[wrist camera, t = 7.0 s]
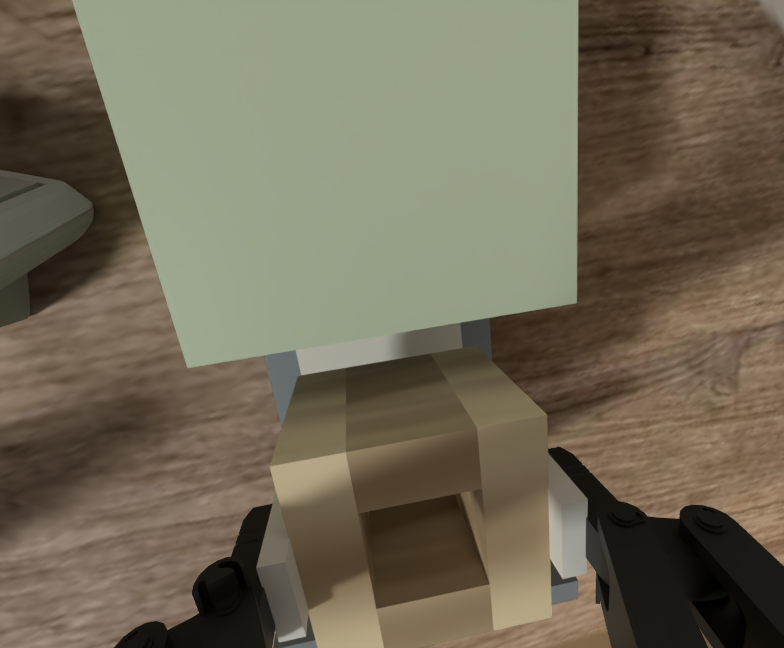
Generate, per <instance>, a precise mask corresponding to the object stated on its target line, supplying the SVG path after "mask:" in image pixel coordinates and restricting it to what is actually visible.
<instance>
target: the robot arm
mask: <svg viewBox="0 0 784 648" xmlns="http://www.w3.org/2000/svg"><path fill="white" fill-rule="evenodd" d="M548 472H549V486H548V502H549V543H550V559H551V561H552V562H553V564H554V566H555V567H556V569H557V571H558V572H559V574H560V576H561V577H562V579H565V578H570V577H574V576H579V575H583V574H587V559H588V561H589V562H590V564H591V565H592V566H593V568H594V569H595V571H596V603H597V604H600V602H601V606H602V610H603V614H604V618H605V622H606V626H607V630H608V635H609V639H610V643H611V647H612V648H708V646H707V644H706V642H705V640H704V638H703V635H702V633H703V634H704V636H705V637H706V638H707V640H708V641H709V643H710V644H711V646H712V647H713V648H784V566H783V565H782V564H781V563H780V562H779V561H778V560H777V559H775V558H774V557H773V556H772V555H771V554H770V553H769V552H768V551H767V550H766V549H765V548H764V547H763V546H762V545H761V544H759V543H758V542H757V541H756V540H755V539H754V538H753V537H752V536H751V535H750V534H749V533H748V532H747V531H746V530H745V529H744V528H742V527H741V526H740V525H739V524H738V523H737V522H736V521H735V520H734V519H732V518H731V517H729V516H728V515H727V514H725V513H723V512H721V511H719V510H717V509H715V508H711V507H707V506H703V505H689V506H686V507H684V508H683V509H682V510H681V511H680V517H679V519H671V518H656V517H649V516H646V514H645V513H644V512H642V511H641V510H640V509H638V508H637V507H635V506H633V505H631V504H628V503H625V502H620V501H618V500H617V499H616V498H615V497H614V496H613V495H612V494H611V493H610V492H609V491H608V490H607V489H606V488H605V487H604V486H603V485H602V484H601V483H600V482H599V481H598V480H597V479H596V478H595V476H594V475H593V474H592V473H590V472H589V470H588V469H587V468H586V467H585V466H584V465H582V463H581V462H580V461H579V460H578V459H577V458H576V457H575V456H574V455H573V454H572V453H570V452H568V451H566V450H565V449H563V448H561V447H556V448H551V449H548ZM192 595H193V598H194V600H195V603H196V606H197V608H198V611H199V614H197V615H196V616H194V617H192V618H191V619H189V620H187V621H185V622H183V623H181V624H179V625H177V626H175V627H173V628H171V629H169V630H167V628H166V627H165V625H164V623H161V622H158V621H154V622H148V623H145V624H143V625H141V626H139V627H137V628H135V629H133V630H132V631H131V632H130V633H128V634H127V635H126V636H124V637H123V638H122V639H121V640H120V642H119V643H118V644H117V645H116V646H115V647H114V648H272V644H273V638H274V632H275V631H276V634H277V638H278V641H279V642H284V641H288V640H293V639H297V638H302V637H306V632H307V621H308V611H309V610H308V606H307V603H306V599H305V595H304V591H303V587H302V584H301V580H300V576H299V572H298V569H297V565H296V561H295V557H294V553H293V550H292V546H291V542H290V538H288V534H287V530H286V527H285V523H284V519H283V515H282V512H281V508H280V504H279V500H278V496H277V493H275V497H274V500H273V504H270V505H265V506H260V507H255V508H253V509H252V510H251V511H250V513H249V514H248V515H247V516H246V518H245V519H244V520H243V523H242V526H241V529H240V532H239V536H238V538H237V541H236V546H235V547H234V550H233V552H232V555H231V557H226V558H223V559H221V560H218V561H216V562H215V563H213V564H211V565H210V566H208V567H207V568H206V569H205V570H204V571H203V572H202V573H201V574H200V575H199V577H198V578H197V580H196V581H195V583H194V585H193V590H192ZM700 630H701V631H702V633H701V631H700Z"/></svg>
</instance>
